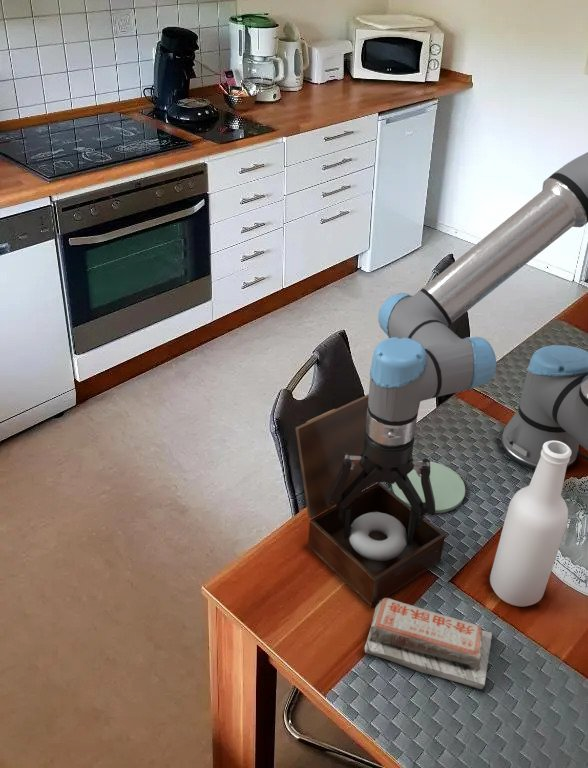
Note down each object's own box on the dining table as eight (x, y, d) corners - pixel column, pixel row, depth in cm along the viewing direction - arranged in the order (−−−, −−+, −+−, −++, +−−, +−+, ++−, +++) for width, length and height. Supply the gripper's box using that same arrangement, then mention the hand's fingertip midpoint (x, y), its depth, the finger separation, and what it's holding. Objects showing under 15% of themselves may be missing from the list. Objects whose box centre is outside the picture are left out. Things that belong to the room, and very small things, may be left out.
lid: (372, 394, 126) (352, 387, 130) (298, 429, 118) (279, 420, 122) (380, 480, 133) (362, 471, 137) (311, 518, 124) (293, 508, 128)
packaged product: (365, 634, 108) (381, 584, 116) (362, 654, 111) (378, 604, 119) (489, 672, 104) (497, 617, 112) (483, 692, 107) (491, 637, 114)
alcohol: (549, 581, 124) (596, 442, 107) (533, 617, 118) (580, 476, 101) (499, 559, 128) (536, 421, 111) (481, 593, 121) (517, 453, 104)
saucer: (473, 478, 145) (474, 475, 144) (451, 523, 134) (452, 520, 134) (406, 455, 150) (407, 452, 149) (380, 496, 140) (380, 493, 139)
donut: (417, 540, 127) (369, 513, 132) (419, 526, 125) (371, 499, 130) (385, 575, 121) (336, 545, 126) (387, 561, 119) (337, 531, 124)
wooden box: (440, 562, 127) (445, 534, 123) (371, 608, 118) (375, 580, 115) (375, 508, 137) (379, 481, 133) (307, 547, 129) (309, 519, 125)
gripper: (313, 442, 110) (309, 545, 123) (466, 456, 108) (446, 559, 121) (318, 412, 117) (313, 513, 129) (463, 424, 115) (444, 526, 127)
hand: (377, 535), depth 125 cm, fingers closed on donut, 10 cm apart
